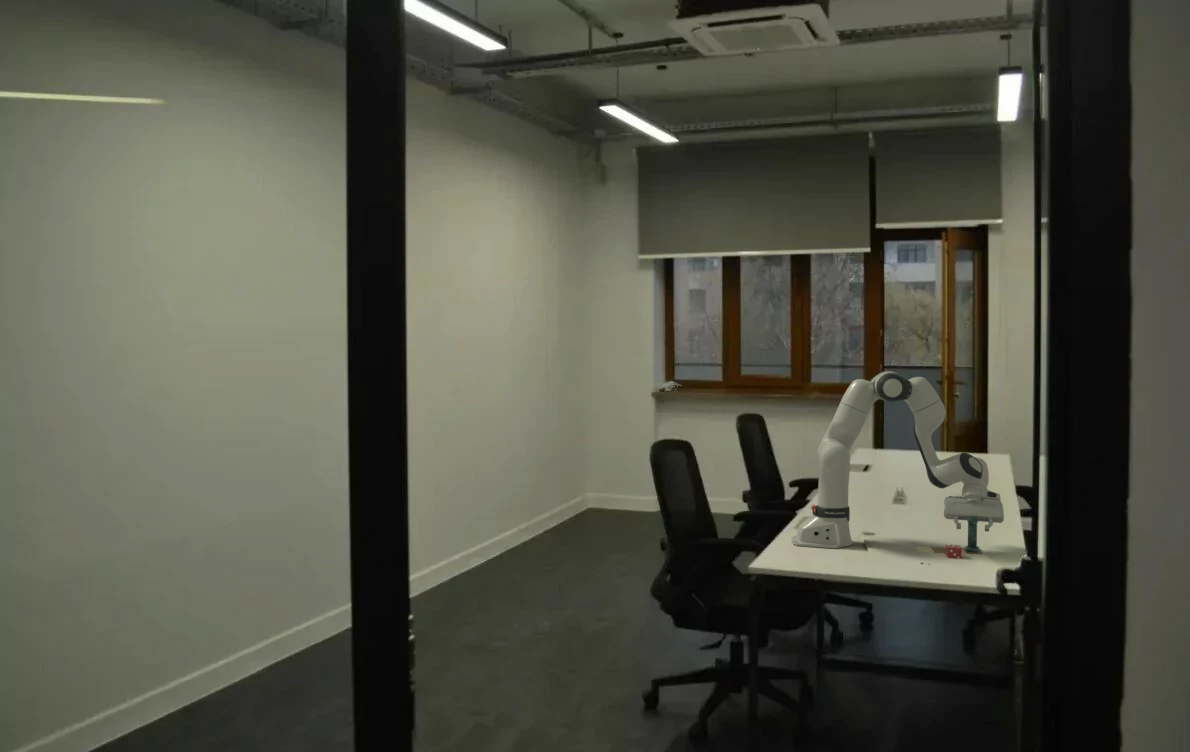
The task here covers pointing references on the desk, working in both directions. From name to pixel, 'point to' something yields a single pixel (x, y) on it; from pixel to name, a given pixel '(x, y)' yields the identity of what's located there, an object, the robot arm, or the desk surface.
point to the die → (953, 551)
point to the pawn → (972, 535)
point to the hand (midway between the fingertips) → (972, 529)
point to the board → (941, 550)
